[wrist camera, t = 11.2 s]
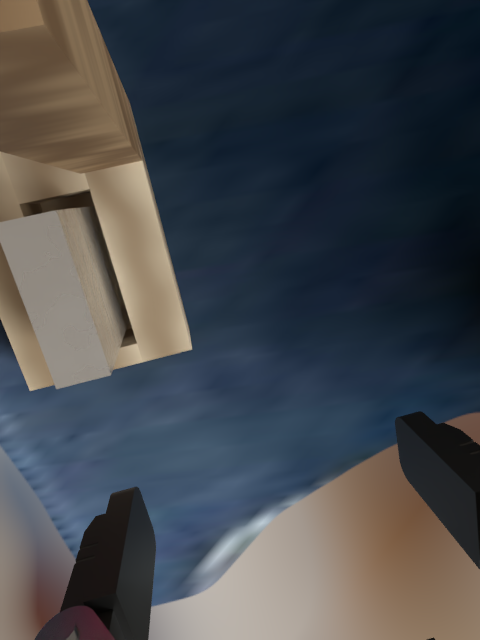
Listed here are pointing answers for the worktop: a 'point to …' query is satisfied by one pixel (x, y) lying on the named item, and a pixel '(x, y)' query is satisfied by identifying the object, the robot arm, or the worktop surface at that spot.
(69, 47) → the wooden l-shaped stand
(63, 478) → the worktop surface
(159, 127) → the worktop surface
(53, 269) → the grey stone slab
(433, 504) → the robot arm
